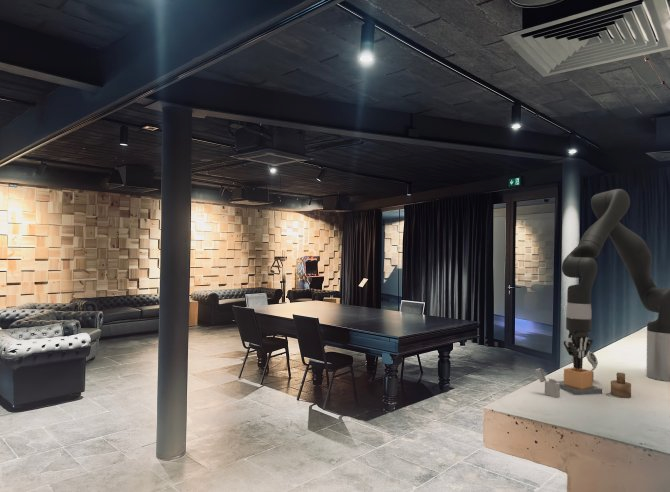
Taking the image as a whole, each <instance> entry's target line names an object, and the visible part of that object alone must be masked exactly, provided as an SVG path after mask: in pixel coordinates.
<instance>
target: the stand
mask: <svg viewBox="0 0 670 492" xmlns="http://www.w3.org/2000/svg"><path fill="white" fill-rule="evenodd" d="M610 395H611V396H613V397H616V398H622V399H631V398H632V383H630V382H628V381H626V373H625V372H616V380H613V379H612V380H611V381H610Z"/></svg>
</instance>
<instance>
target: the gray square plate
mask: <svg viewBox="0 0 670 492" xmlns="http://www.w3.org/2000/svg"><path fill="white" fill-rule="evenodd" d="M556 381H557V383H560V390H561V389H562V390H563V391H566V392H567V393H570V394H572V395H573V396H574V395H576V396H577V395H580V396H581V395H602V394H603V388H600V387H599V386H595V385H593V386H592V387H588V388H583V389H580V388H577V387H573V386H570V385H566V384H564V380H556Z"/></svg>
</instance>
